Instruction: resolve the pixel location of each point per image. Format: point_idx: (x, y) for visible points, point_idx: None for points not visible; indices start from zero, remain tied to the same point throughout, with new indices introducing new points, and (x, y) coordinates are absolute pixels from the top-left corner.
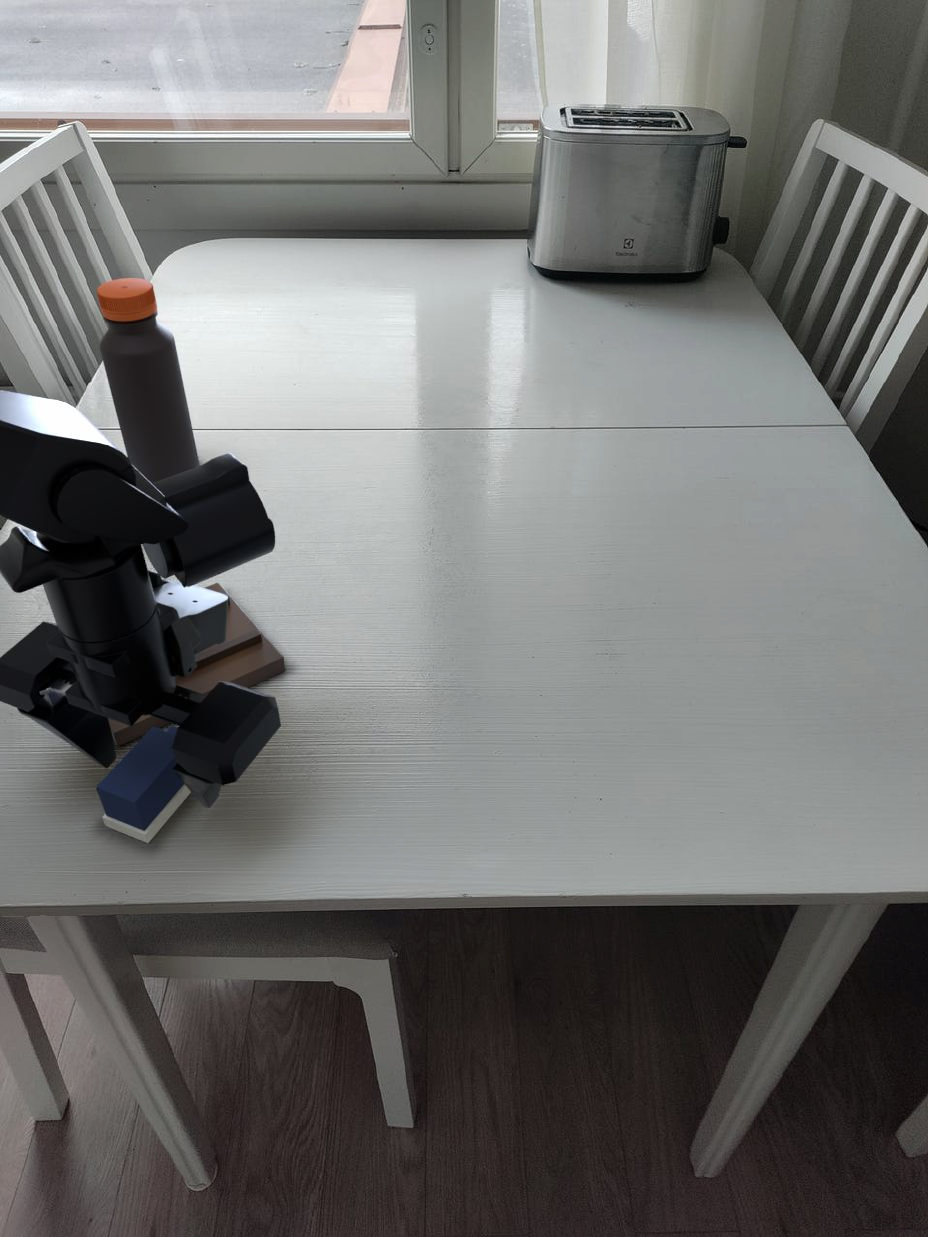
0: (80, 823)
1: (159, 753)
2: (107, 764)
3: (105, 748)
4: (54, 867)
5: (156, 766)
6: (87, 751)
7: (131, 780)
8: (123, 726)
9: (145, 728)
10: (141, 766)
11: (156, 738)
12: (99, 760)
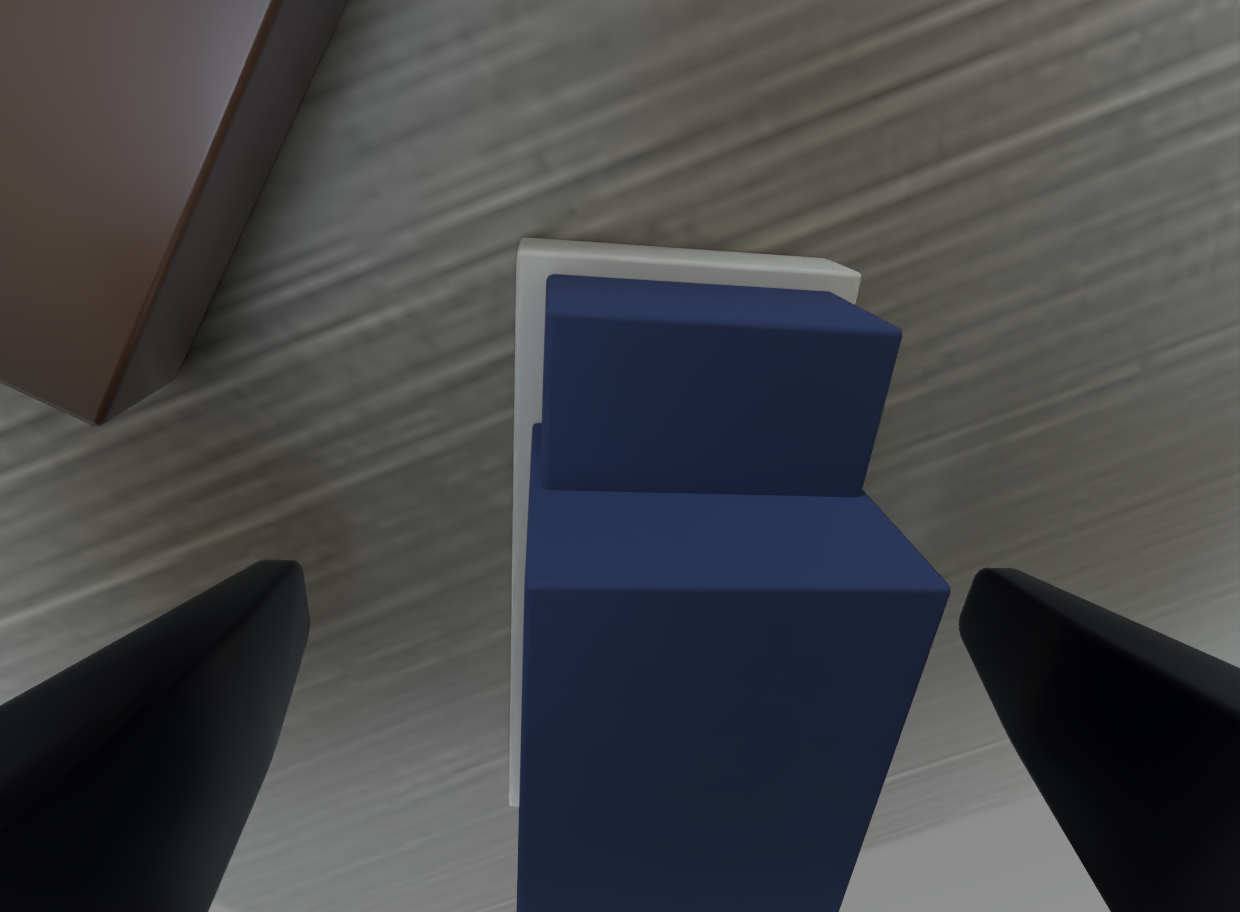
0: (402, 774)
1: (763, 773)
2: (300, 634)
3: (247, 708)
4: (461, 906)
5: (802, 852)
6: (208, 901)
7: None
8: (102, 344)
9: (229, 212)
10: (698, 885)
11: (649, 674)
12: (277, 735)
